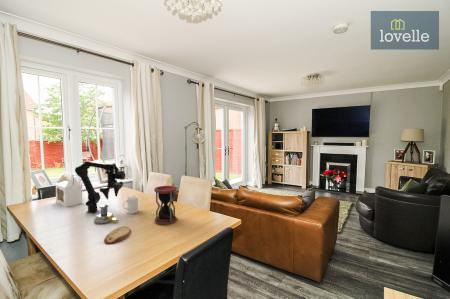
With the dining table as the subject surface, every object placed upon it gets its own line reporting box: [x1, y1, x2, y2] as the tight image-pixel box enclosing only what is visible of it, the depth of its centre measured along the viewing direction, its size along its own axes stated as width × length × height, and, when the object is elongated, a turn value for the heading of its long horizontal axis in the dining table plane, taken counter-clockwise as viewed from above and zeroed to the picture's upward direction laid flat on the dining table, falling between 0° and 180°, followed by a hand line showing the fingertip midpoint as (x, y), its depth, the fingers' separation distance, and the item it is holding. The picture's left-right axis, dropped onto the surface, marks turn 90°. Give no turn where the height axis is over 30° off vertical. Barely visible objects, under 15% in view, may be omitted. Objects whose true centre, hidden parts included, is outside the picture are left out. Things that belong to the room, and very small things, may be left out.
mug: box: [122, 195, 139, 214], centre depth 179 cm, size 12×8×12 cm
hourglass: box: [154, 185, 178, 226], centre depth 161 cm, size 16×16×25 cm
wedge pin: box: [99, 204, 109, 216], centre depth 160 cm, size 4×4×9 cm
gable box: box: [55, 171, 83, 208], centre depth 199 cm, size 22×13×28 cm, turn 55°
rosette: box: [93, 212, 119, 225], centre depth 160 cm, size 18×13×4 cm
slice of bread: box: [103, 225, 132, 245], centre depth 137 cm, size 18×18×4 cm
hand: (111, 197), depth 177 cm, fingers open, 9 cm apart
